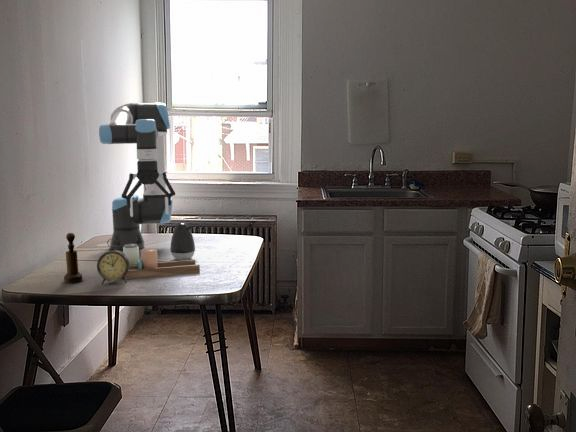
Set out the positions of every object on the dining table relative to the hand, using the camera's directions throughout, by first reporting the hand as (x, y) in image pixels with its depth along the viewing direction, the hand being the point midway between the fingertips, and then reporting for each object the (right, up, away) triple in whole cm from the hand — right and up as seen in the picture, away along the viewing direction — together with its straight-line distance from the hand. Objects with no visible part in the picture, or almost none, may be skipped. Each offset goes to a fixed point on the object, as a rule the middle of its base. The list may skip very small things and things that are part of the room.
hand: (149, 215), depth 265 cm
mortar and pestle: (-25, -24, -14) cm, 38 cm away
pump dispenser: (+10, -18, +20) cm, 29 cm away
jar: (-8, -21, +3) cm, 23 cm away
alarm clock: (-9, -25, -17) cm, 31 cm away
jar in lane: (+1, -22, -4) cm, 23 cm away
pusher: (-6, -22, -6) cm, 24 cm away
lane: (+4, -22, -3) cm, 23 cm away
